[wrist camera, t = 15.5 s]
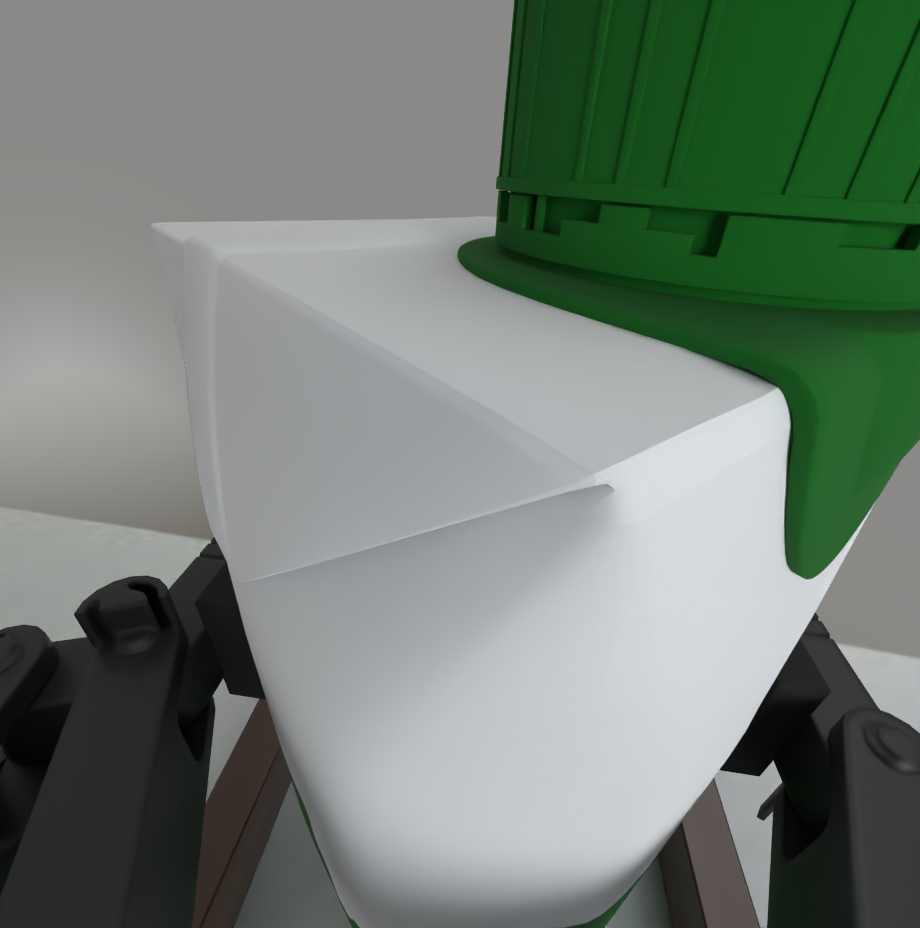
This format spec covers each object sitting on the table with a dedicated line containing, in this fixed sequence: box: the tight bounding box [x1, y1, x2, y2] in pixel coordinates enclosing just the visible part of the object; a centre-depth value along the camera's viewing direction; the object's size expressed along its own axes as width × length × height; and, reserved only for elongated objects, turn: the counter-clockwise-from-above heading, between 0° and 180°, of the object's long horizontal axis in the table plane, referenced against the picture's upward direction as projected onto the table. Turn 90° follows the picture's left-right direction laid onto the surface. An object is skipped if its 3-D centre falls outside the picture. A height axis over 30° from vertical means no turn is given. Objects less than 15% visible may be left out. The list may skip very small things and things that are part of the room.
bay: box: [192, 699, 760, 928], centre depth 15 cm, size 16×13×2 cm
